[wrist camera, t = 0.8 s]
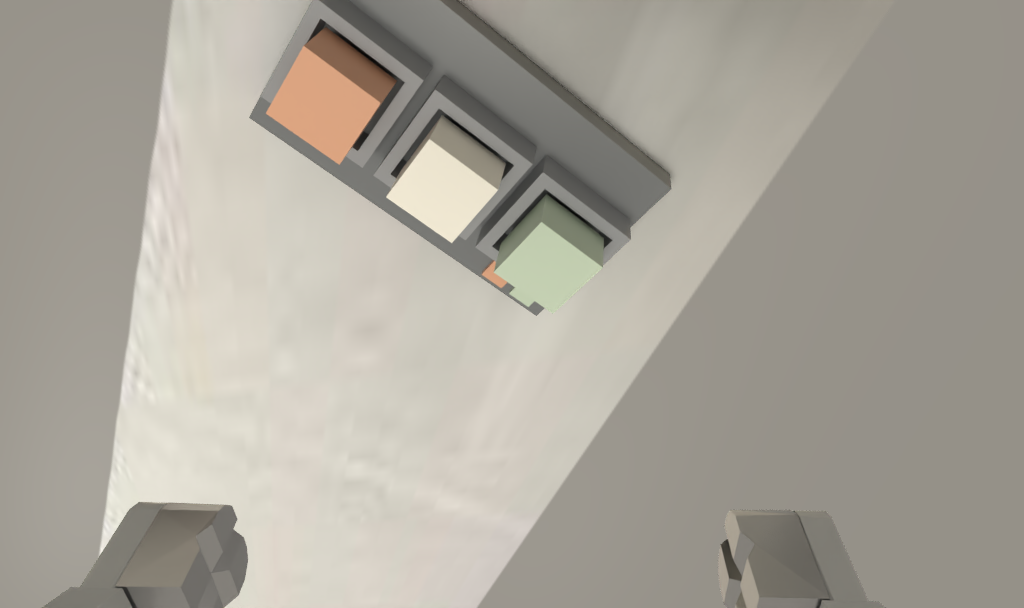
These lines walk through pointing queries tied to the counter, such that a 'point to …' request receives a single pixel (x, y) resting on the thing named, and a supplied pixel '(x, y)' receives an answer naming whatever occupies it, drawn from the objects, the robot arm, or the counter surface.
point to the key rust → (330, 95)
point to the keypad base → (475, 126)
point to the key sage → (550, 254)
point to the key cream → (447, 180)
